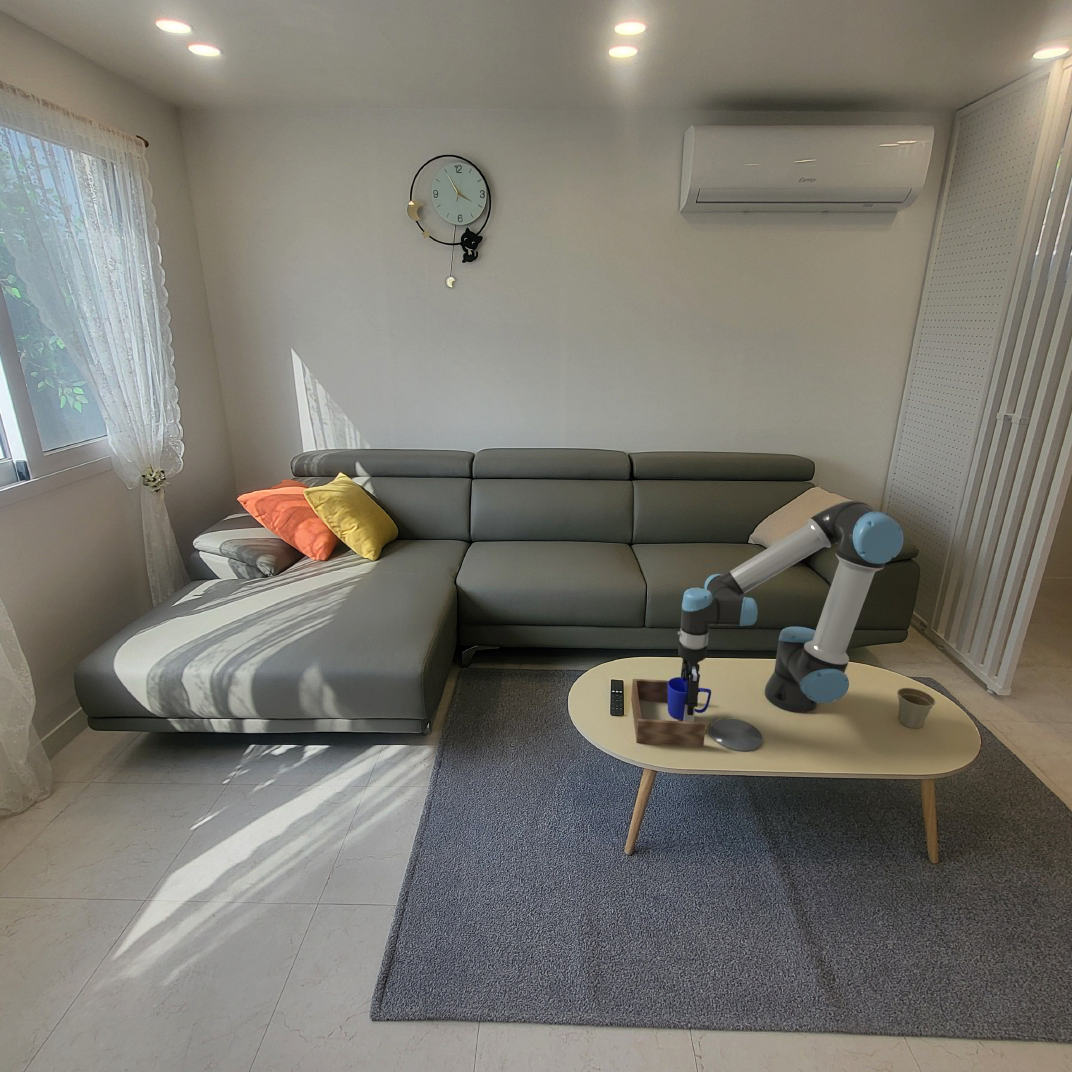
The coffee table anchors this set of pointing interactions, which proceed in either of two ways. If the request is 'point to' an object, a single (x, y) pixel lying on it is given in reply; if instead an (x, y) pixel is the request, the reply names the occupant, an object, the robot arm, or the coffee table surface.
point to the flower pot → (914, 706)
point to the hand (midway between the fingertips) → (686, 714)
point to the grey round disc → (736, 734)
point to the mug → (681, 698)
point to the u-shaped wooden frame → (662, 729)
